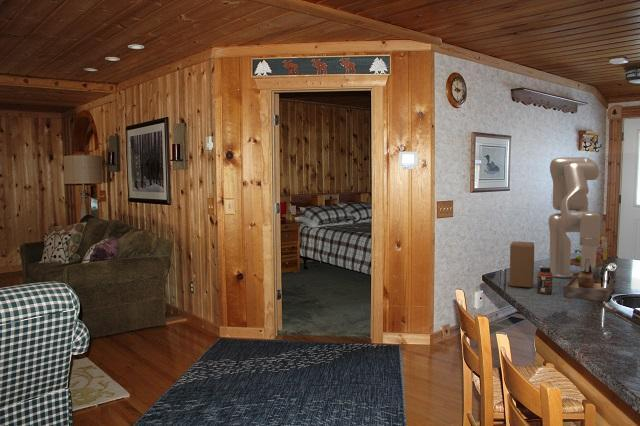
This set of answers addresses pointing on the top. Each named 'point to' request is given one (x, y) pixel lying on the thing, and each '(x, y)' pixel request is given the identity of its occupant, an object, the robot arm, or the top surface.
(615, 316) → the top surface
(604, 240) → the candy box
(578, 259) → the plant
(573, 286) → the box
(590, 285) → the walnut block
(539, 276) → the supplement bottle
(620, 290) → the top surface
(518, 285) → the wooden block
